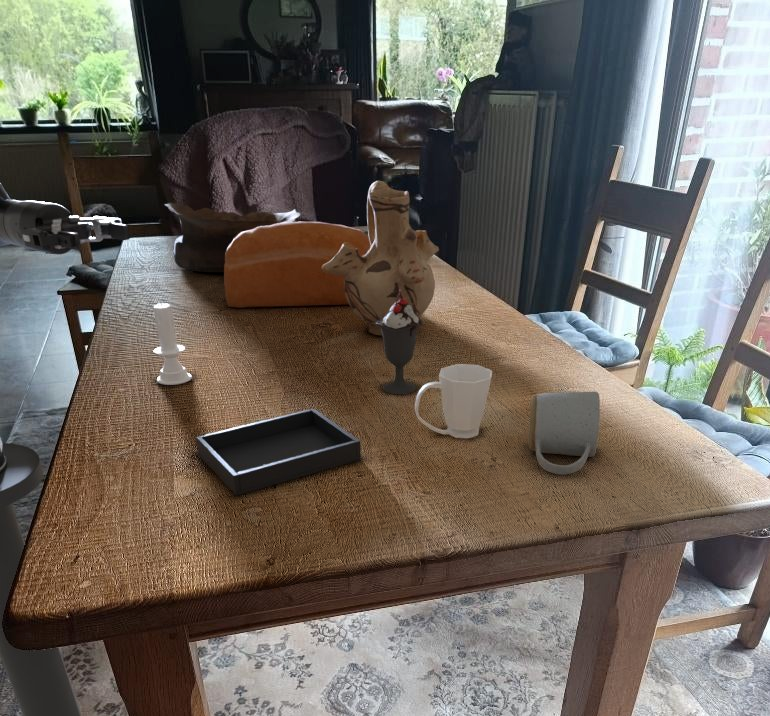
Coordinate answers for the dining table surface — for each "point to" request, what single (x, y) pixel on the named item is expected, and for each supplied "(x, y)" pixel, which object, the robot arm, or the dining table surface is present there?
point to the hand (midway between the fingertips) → (103, 237)
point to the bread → (288, 264)
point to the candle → (169, 348)
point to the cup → (460, 398)
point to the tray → (277, 450)
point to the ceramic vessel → (386, 260)
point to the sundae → (399, 342)
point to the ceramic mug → (564, 427)
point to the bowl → (214, 234)
